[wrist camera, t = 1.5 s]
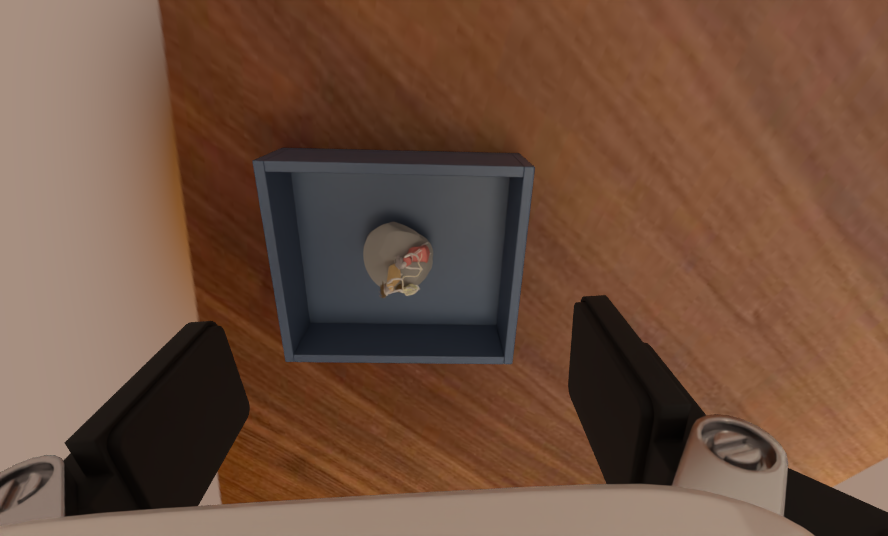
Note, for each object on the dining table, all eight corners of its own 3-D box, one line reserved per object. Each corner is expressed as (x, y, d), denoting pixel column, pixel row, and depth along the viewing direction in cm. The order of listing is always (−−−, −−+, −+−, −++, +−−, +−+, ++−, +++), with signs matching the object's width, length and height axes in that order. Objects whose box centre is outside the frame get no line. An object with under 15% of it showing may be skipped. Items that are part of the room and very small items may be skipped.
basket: (305, 324, 32) (285, 362, 27) (281, 147, 26) (251, 160, 22) (502, 327, 32) (512, 364, 28) (519, 153, 26) (535, 166, 22)
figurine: (355, 228, 28) (336, 265, 22) (415, 203, 27) (409, 234, 22) (390, 292, 30) (380, 339, 24) (446, 269, 29) (449, 313, 24)
